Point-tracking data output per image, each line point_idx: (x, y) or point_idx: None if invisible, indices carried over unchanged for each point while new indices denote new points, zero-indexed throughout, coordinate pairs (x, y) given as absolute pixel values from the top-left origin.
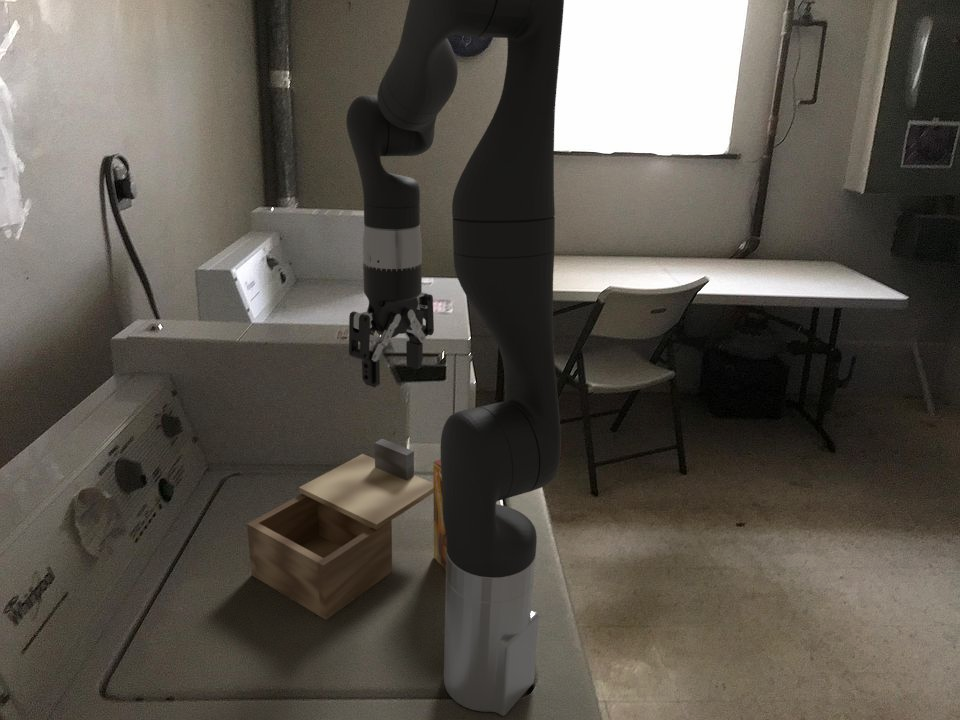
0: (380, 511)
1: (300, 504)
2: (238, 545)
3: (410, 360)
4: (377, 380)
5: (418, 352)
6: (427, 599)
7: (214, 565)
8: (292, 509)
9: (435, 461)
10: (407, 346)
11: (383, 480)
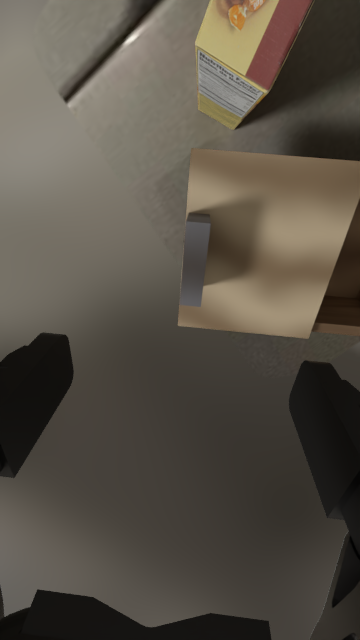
0: (326, 186)
1: (315, 319)
2: (314, 346)
3: (58, 383)
4: (333, 376)
5: (20, 382)
6: (329, 66)
7: (353, 342)
8: (329, 320)
9: (268, 84)
10: (28, 448)
11: (230, 249)
